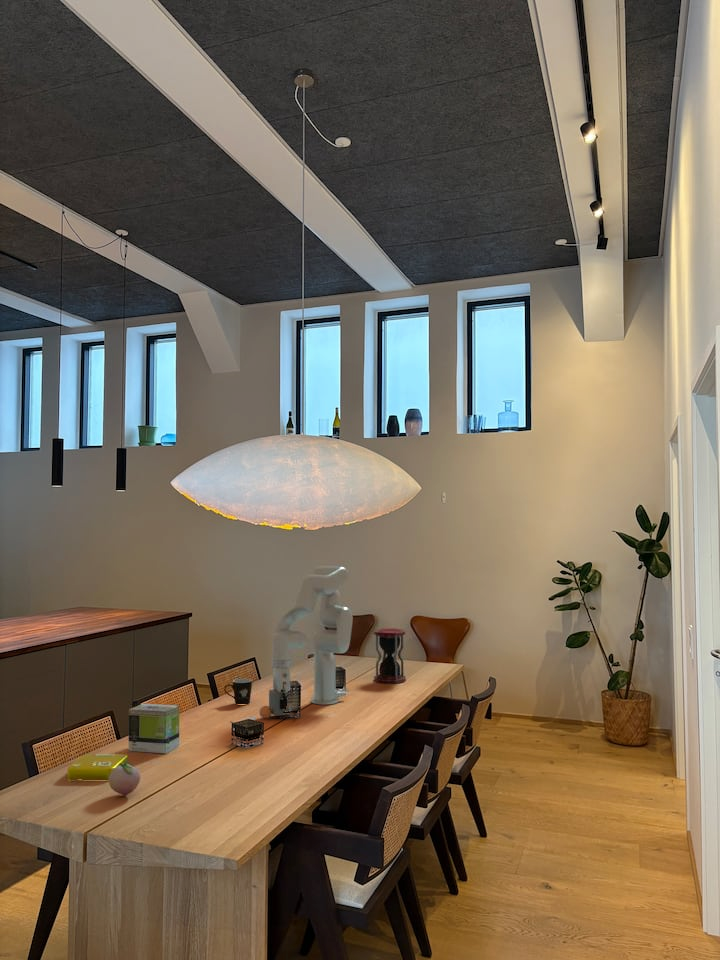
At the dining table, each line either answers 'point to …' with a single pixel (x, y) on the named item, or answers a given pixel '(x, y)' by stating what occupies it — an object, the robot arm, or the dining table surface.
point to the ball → (265, 712)
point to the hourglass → (389, 656)
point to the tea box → (154, 728)
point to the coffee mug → (241, 690)
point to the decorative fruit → (124, 778)
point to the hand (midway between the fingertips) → (280, 706)
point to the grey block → (275, 702)
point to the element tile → (95, 766)
